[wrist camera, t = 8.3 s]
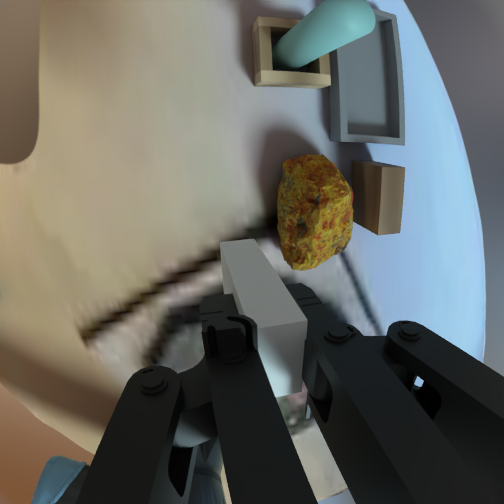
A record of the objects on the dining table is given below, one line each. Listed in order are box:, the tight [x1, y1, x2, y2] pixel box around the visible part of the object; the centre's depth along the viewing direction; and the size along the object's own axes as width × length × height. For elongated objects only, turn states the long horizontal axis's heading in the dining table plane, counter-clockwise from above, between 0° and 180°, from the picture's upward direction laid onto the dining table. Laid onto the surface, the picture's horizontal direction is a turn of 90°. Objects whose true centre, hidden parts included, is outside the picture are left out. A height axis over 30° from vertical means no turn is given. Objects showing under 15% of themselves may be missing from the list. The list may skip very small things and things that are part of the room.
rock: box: [277, 154, 353, 271], centre depth 31 cm, size 11×8×10 cm
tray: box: [329, 8, 405, 146], centre depth 28 cm, size 9×17×2 cm, turn 2°
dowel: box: [271, 0, 375, 72], centre depth 21 cm, size 4×4×14 cm
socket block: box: [252, 16, 331, 89], centre depth 26 cm, size 7×7×3 cm
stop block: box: [352, 161, 405, 235], centre depth 31 cm, size 3×7×6 cm, turn 2°
